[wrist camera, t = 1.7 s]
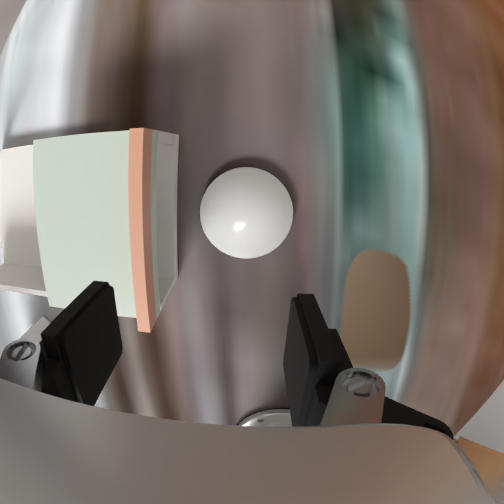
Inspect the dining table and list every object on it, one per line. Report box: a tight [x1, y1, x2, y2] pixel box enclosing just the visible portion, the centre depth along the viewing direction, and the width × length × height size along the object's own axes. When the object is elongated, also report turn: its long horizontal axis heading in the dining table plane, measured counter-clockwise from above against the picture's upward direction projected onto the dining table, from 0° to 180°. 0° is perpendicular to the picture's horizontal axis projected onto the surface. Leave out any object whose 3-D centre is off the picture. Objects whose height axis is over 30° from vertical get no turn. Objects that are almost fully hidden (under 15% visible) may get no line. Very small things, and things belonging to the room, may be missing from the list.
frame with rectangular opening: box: [0, 131, 179, 310], centre depth 28 cm, size 24×15×7 cm, turn 87°
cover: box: [33, 128, 161, 332], centre depth 22 cm, size 11×15×3 cm
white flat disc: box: [200, 167, 293, 258], centre depth 31 cm, size 9×9×1 cm
